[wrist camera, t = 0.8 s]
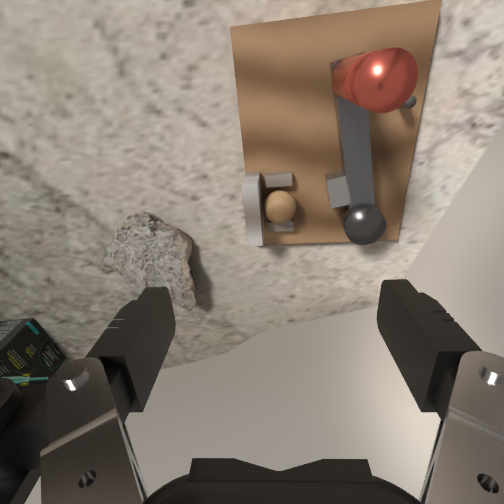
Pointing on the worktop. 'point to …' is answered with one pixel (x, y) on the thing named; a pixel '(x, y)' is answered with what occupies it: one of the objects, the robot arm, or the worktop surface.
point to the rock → (153, 258)
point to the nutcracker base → (322, 115)
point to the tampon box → (27, 353)
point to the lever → (364, 131)
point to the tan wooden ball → (279, 206)
